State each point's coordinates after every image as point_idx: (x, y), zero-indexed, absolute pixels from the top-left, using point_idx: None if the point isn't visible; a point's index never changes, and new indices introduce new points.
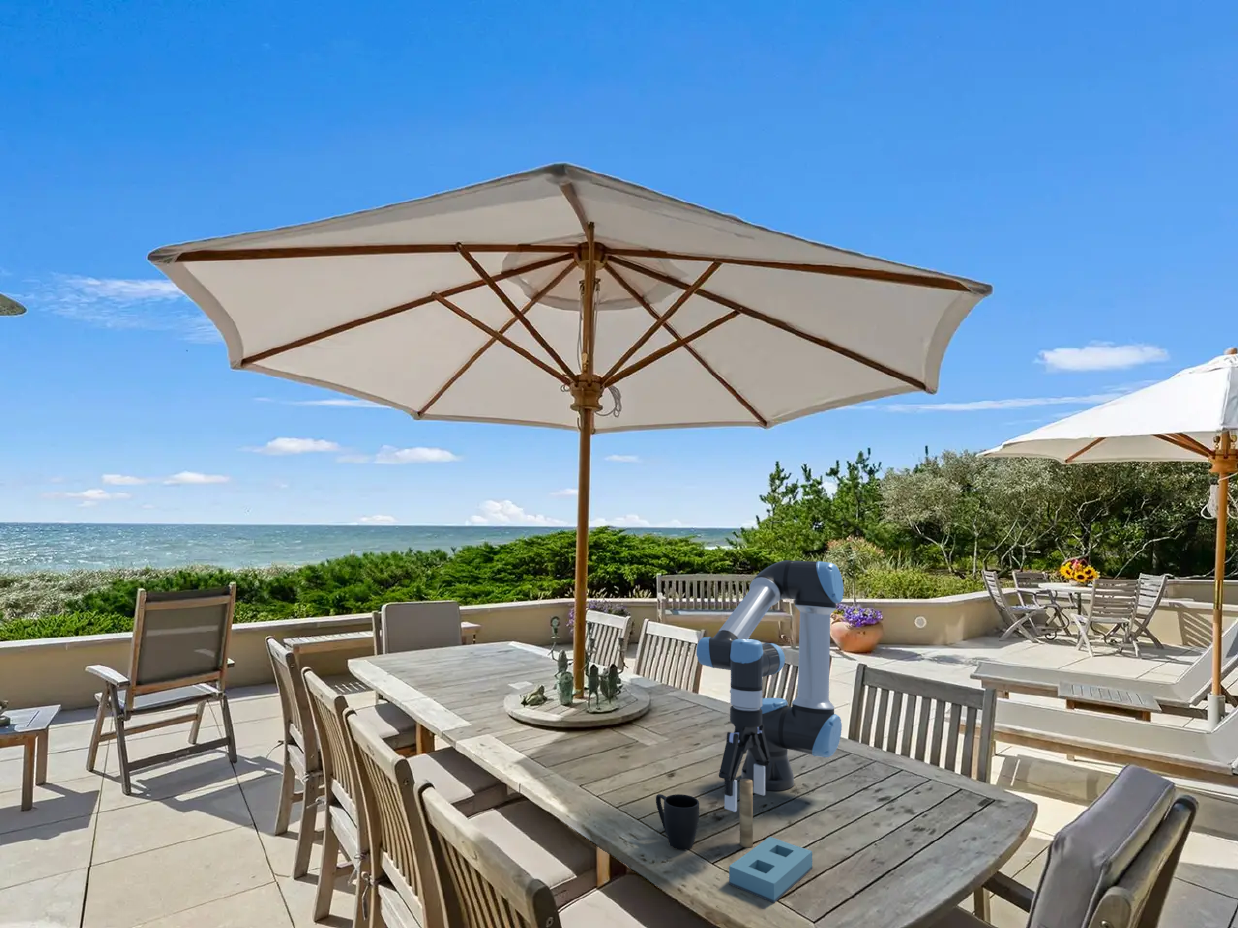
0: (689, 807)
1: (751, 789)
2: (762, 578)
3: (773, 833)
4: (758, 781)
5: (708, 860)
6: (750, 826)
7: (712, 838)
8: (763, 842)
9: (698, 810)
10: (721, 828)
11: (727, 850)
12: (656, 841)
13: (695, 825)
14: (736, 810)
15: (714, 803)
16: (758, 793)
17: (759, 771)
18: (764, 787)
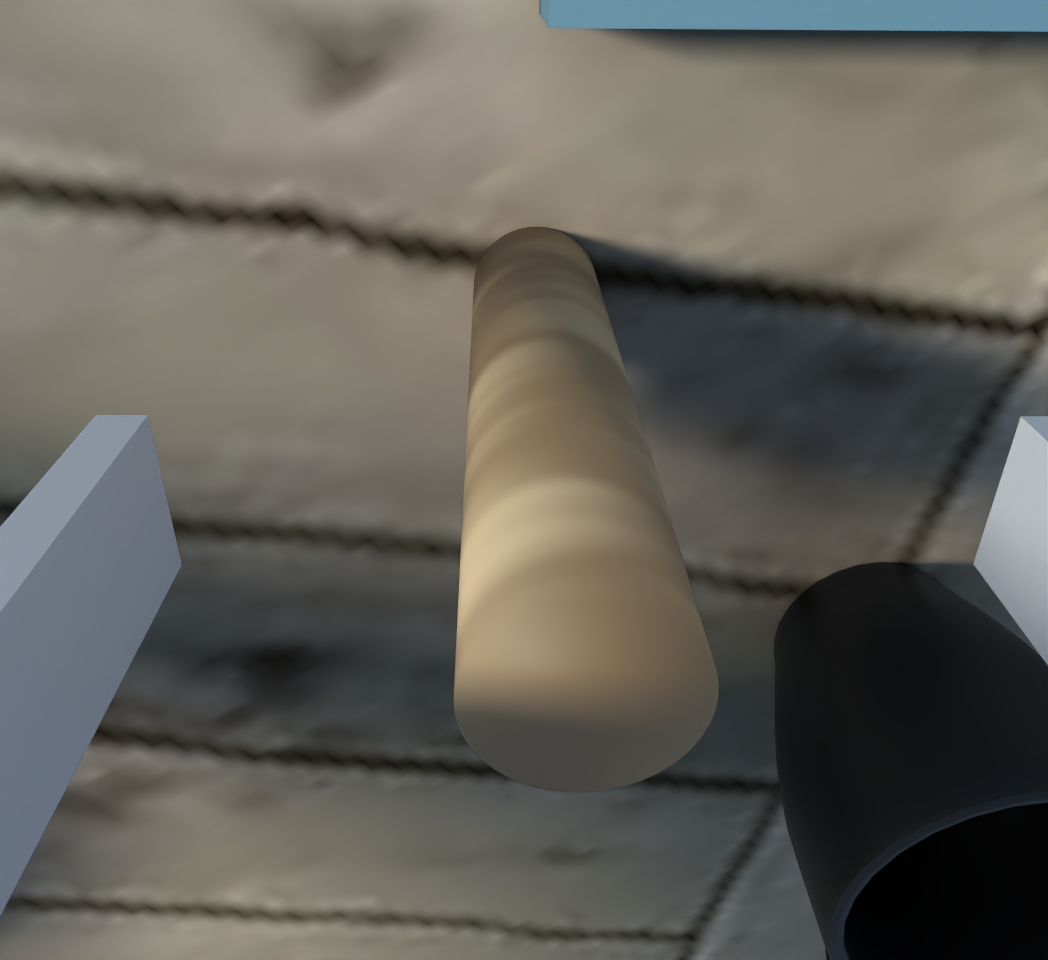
0: None
1: (599, 518)
2: None
3: (117, 201)
4: (93, 614)
5: (1007, 376)
6: (571, 295)
7: None
8: (750, 11)
9: (982, 743)
10: (418, 571)
11: (750, 351)
12: None
13: (978, 650)
14: (1032, 420)
15: (83, 795)
16: (163, 498)
17: (2, 739)
18: (74, 474)
